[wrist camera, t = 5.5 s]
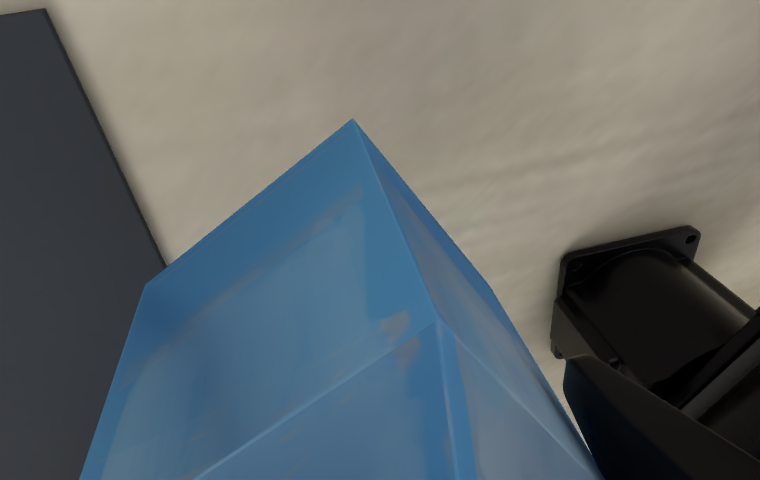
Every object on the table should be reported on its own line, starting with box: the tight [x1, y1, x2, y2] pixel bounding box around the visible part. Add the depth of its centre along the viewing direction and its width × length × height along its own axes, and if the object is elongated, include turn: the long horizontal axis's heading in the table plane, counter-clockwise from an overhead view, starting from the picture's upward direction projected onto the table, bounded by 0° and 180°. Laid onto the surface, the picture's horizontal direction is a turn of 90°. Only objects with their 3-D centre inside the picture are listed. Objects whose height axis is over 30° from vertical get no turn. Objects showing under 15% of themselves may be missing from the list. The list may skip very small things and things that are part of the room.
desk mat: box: [0, 8, 167, 480], centre depth 18 cm, size 12×20×1 cm, turn 7°
